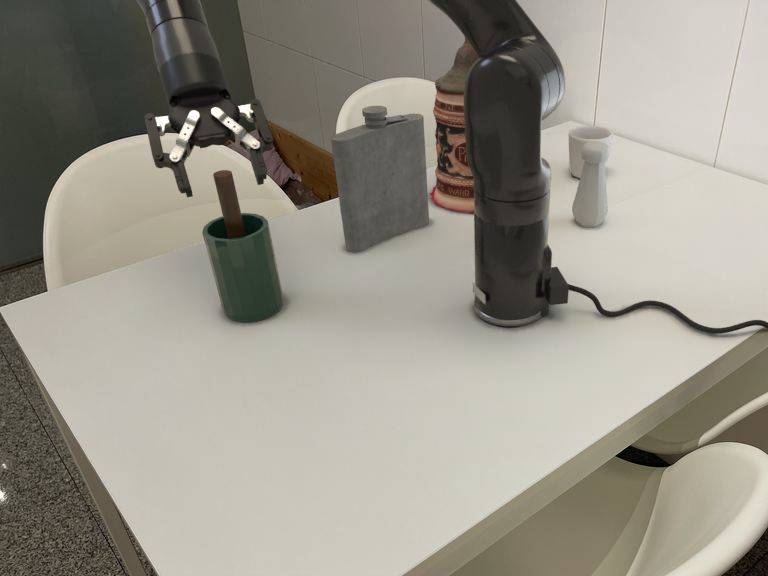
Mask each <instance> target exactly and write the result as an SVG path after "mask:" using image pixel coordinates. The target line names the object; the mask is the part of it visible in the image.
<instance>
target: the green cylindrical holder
mask: <svg viewBox="0 0 768 576" xmlns="http://www.w3.org/2000/svg"><path fill="white" fill-rule="evenodd" d="M241 215H242V220H243V224H244V229H245V233H246V236H245V237H241V238H234V239H228V234H227V230H226V226H225V222H224V218H223V215H221V216H219V217H217V218H214V219H212V220H211V221H209V222H208V223H206V224H205V225H204V226H203V228H202V233H201V234H202V237H203V241H204V245H205V249H206V252H207V256H208V260H209V263H210V267H211V271H212V275H213V278H214V283H215V286H216V291H217V293H218V298H219V300H220V301H219V302H220V304H221V308H222V310H223V314H224V316H225V317H226V318H227V319H228V320H231V321H233V322H237V323H255V322H260V321H264V320H267V319H270V318H272V317H273V316H275V315H276V314H278V313H279V312H280V311H281V310H282V309H283V307H284V305H285V301H284V296H283V289H282V284H281V280H280V275H279V270H278V264H277V259H276V254H275V249H274V245H273V239H272V235H271V230H270V225H269V221H268V219H267V218H266V217H264V215H260V214H257V213H250V212H241Z"/></svg>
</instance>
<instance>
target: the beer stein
mask: <svg viewBox="0 0 768 576" xmlns="http://www.w3.org/2000/svg"><path fill="white" fill-rule="evenodd" d="M477 60H478V57H477V55H476V54H475V52H474V50H473V49H472V47H471V45H470V44H469V42H468V41H467V39H466V38H465V37H464V42H463V44H462V45H461V46H460V47H459V48H458V49H457V51H456V54H455V58H454V60H453V65H452V66H451V68H450V69H449V70H448V71H447V72H446V74H444V75H443V76H441V77H439V78H437V79H436V80H435V81H434V86H435V90H436V94H435V99H434V106H433V109H432V113H433V116H434V120H435V123H436V128H435V132H434V137H435V150H436V156H437V157H436V162H437V166H436V167H435V170H434V175H435V177H436V179H435V180H436V183H435V186H434V187H433V188H432V190H431V192H429V196H430V197H429V196H428V199H430V200H432V202H433V203H434V204H435V205H436V206H438V207H441V208H443V209H446V210H448V211H452V212H458V213H468V214H474V179H473V175H472V172H471V170H470V168H469V165H468V161H467V154H466V140H465V124H464V87H465V82H466V78H467V75H468V72H469V70H470V68H471V67H472V65H473V64H474V63H475V62H476V61H477Z"/></svg>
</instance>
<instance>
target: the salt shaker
mask: <svg viewBox="0 0 768 576" xmlns="http://www.w3.org/2000/svg"><path fill="white" fill-rule="evenodd" d="M581 157H582V159H583V160H584V161H585V162H584V166H583V169H582V173H581V177H580V178H579V180H578V185H577V189H576V192H575V196H574V199H573V202H572V206H571V211H572V215H573V217H574V220H575V223H576V224H578V225H580V226H582V227H585V228H586V227H587V228H596V227H598V226H600V225H602V224H603V222H604V220H605V219H606V216H607V214H608V211H609V205H608V193H607V190H608V189H607V177H606V170H605V161H607V160H608V161H609V158H610V152H609V147H608V146H607V145H606V144H605V143H602V142H589V143H586V144H585V145H584V146H583V147H582V152H581Z"/></svg>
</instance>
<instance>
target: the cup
mask: <svg viewBox="0 0 768 576" xmlns="http://www.w3.org/2000/svg"><path fill="white" fill-rule="evenodd" d="M567 134H568V135H567V136H568V160H569V161H568V162H569V163H568V165H569V172H570V173H571V174H572V175H573V176H574V177H575V178H578V179H580V177H581V173H582V169H583V166H584V162H585V161H584V160H583V159H582V157H581V152H582V147H583V146H584V145H585V144H586V143H589V142H602V143H605V144H606V145H607V146H608V147H609V153H610V151H611V147H612V142H613V137H614V134H613V132H612V131H611V130H610V129H609V128H606V127H604V126H603V127H602V126H598V125H581V126H576V127H574V128H571V129H570V130H569V131H568V133H567ZM608 162H609V159H608V160H607V161H605V171H606V170H607V166H608Z"/></svg>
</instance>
